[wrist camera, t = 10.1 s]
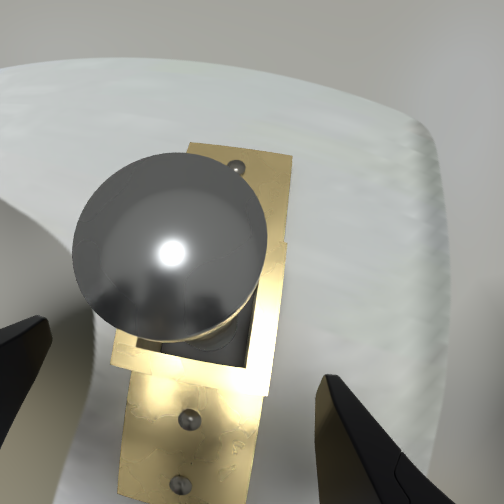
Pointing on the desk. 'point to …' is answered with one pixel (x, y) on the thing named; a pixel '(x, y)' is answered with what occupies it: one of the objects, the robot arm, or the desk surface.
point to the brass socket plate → (206, 377)
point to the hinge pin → (171, 249)
